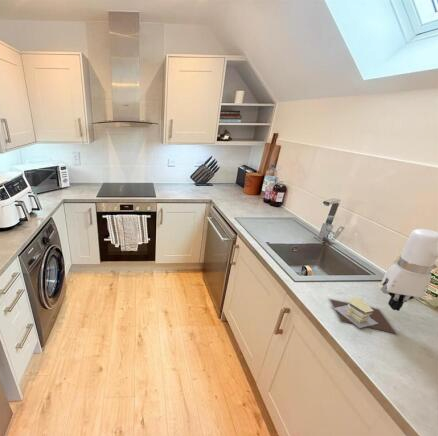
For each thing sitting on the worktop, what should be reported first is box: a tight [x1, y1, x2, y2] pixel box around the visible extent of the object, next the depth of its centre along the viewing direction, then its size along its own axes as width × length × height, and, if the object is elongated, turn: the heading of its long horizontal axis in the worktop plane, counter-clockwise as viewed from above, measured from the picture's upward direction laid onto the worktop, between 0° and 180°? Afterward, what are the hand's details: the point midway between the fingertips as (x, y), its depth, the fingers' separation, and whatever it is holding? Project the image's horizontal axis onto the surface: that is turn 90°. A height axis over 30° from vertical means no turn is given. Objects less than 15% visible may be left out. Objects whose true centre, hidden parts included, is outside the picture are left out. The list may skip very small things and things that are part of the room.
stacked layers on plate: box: [333, 297, 378, 329], centre depth 90 cm, size 10×9×6 cm
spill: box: [330, 299, 396, 334], centre depth 91 cm, size 16×12×1 cm
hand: (393, 307), depth 86 cm, fingers closed
